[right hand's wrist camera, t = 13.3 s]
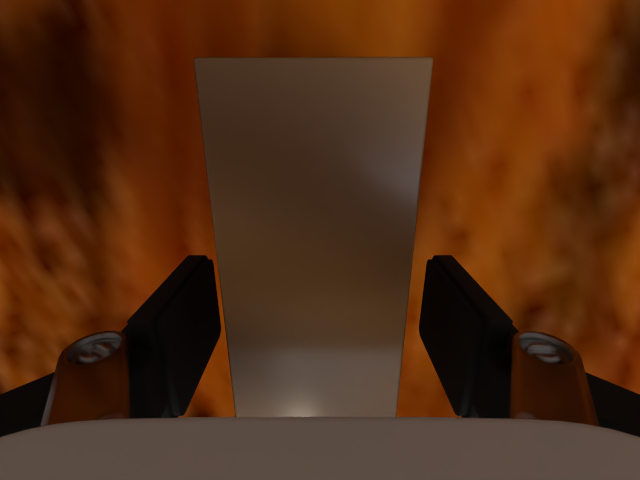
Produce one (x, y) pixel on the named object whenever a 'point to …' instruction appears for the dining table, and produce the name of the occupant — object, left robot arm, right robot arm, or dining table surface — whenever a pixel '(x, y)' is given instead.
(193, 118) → the dining table surface
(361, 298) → the beam
